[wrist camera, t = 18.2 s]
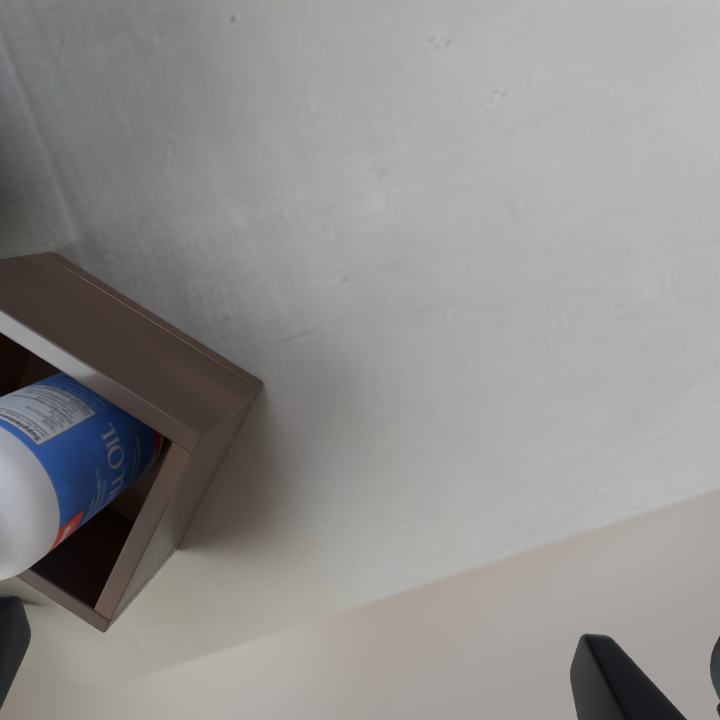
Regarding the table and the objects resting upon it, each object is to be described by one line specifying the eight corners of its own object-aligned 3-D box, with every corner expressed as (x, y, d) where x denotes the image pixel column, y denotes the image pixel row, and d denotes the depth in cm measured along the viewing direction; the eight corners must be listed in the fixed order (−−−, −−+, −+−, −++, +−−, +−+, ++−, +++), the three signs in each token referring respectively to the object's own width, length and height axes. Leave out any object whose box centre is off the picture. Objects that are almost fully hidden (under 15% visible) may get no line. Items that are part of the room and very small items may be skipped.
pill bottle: (157, 493, 24) (-42, 678, 15) (51, 449, 25) (-201, 601, 16) (179, 385, 22) (-35, 523, 13) (63, 340, 23) (-217, 442, 14)
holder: (175, 552, 26) (103, 634, 21) (-5, 436, 26) (-114, 492, 21) (264, 381, 22) (201, 436, 17) (52, 250, 22) (-65, 268, 18)
